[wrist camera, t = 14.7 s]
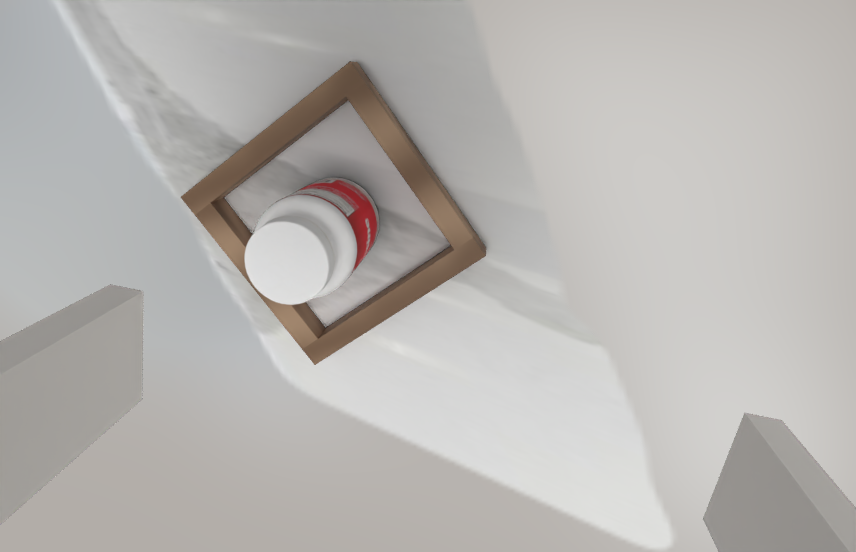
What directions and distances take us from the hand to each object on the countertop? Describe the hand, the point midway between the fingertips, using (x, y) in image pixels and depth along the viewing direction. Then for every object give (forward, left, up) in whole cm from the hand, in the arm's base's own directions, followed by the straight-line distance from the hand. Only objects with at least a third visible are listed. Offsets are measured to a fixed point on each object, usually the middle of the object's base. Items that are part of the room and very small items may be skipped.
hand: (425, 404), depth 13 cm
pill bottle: (+4, -9, -29) cm, 31 cm away
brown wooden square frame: (+4, -9, -29) cm, 30 cm away
